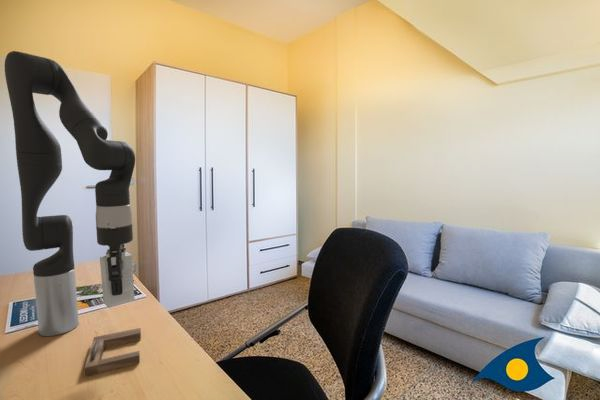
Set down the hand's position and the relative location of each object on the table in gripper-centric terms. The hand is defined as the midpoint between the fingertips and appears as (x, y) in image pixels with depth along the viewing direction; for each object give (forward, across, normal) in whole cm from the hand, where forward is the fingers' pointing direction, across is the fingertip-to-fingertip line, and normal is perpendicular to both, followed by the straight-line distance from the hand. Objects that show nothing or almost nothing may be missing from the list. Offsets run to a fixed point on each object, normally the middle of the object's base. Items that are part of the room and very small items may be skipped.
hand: (118, 289), depth 77 cm
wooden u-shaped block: (+17, 0, -1) cm, 17 cm away
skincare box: (+3, 0, 0) cm, 3 cm away
